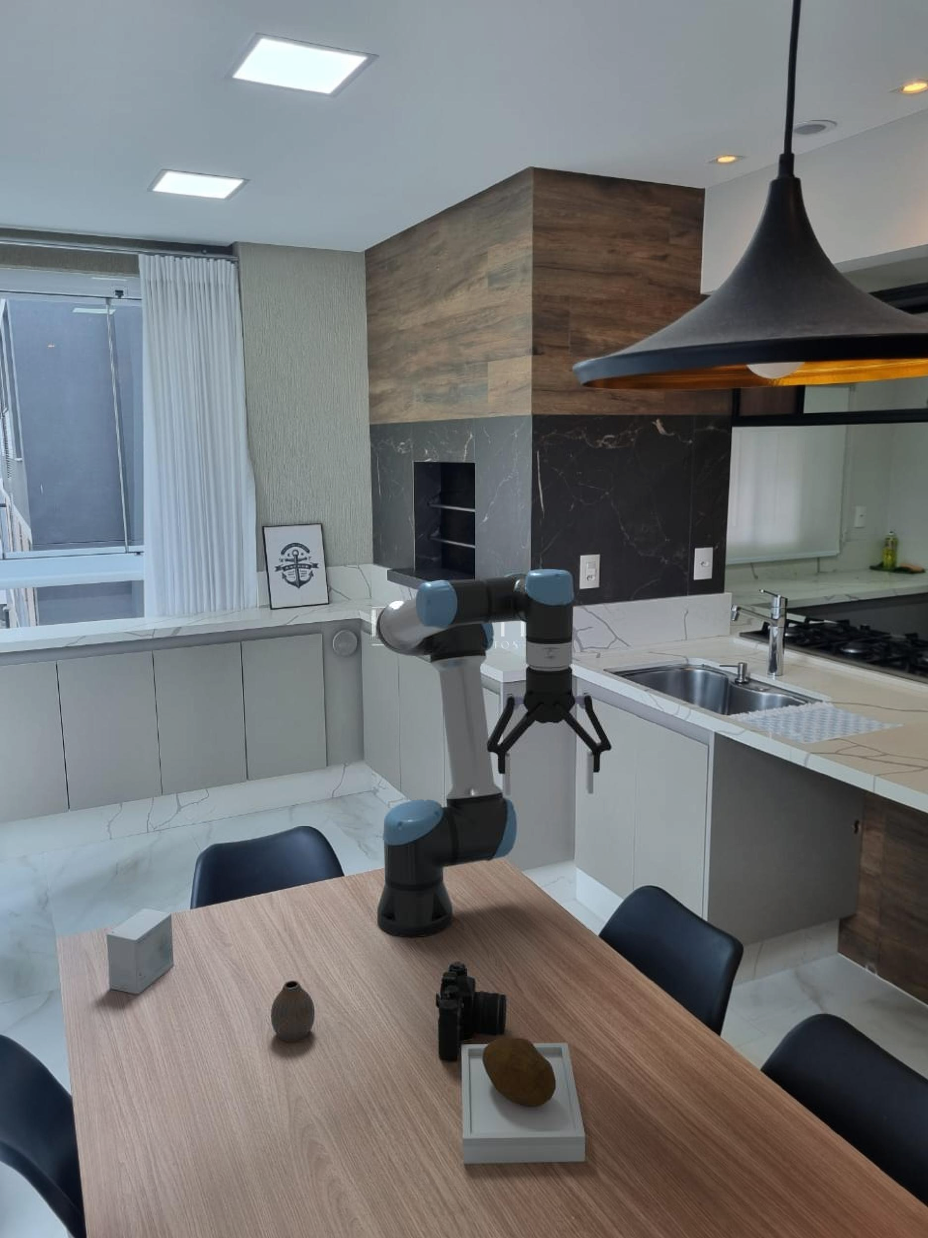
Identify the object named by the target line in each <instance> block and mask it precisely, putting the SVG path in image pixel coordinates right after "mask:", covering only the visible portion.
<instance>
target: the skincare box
mask: <svg viewBox="0 0 928 1238" xmlns="http://www.w3.org/2000/svg"><path fill="white" fill-rule="evenodd" d="M172 923H173V921H172V913H171V912H164V911H159V910H154V909H150V908H142V909H141V910H139V911H138V912H137V913H135V914H134V915H132V916H131V917H129V918H128V919H126V920H125V921H123V922H122V923H121V924H119V925H118V926H116V927H115V928H113V929H112V930H111V931H109V932H108V933H106V943H107V960H108V982H109V983H108V986H109V989H111V990H116V991H120V992H124V993H129V994H134V995H139V994H141V993H142V992H143V991H144V990H145V989H146V988H148V987H150V986H151V984H153V983H154V982H155V981H156V980H158V979H159V978H160V977H161V976H163V975H164V974H165V973H167V972H168V971H169V970H170V969H171V968H172V967H174V966H175V964H174V963H175V962H174V960H175V959H174V945H173V941H174V940H173V925H172Z"/></svg>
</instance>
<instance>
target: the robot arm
mask: <svg viewBox="0 0 928 1238" xmlns="http://www.w3.org/2000/svg"><path fill="white" fill-rule="evenodd" d="M573 581H574V580H573V575H572V574H571V573H570V572H569V571H568V570H565V569H555V568H553V569H552V568H551V569H550V568H545V569H542V568H541V569H533V570H530V571H528V573H527V574H524V573H510V574H506V575H504V576H502V577H484V578H475V579H473V578H472V579H453V580H452V579H451V580H445V579H438V580H433V581H426V582H423V583H421V584H420V585H419V586H418V589H417V591H416V594H415V595H416V596H415V597H413V598H411V599H407V600H398V601H393V602H392V603H390V604H388V605H387V606H385V607H384V608H383V609H382V610H381V612H380V613H379V614H378V617H377V619H376V625H375V628H376V633H377V637H378V639H379V641H380V642H381V643H382V645H384V647H385V648H387V649H388V650H390V651H392V652H394V653H396V654H399V655H404V656H411V657H418V656H421V657H422V656H429V659H430V665H431V666H432V667H433V668H435V670H437V671H438V673H439V683H440V690H441V700H442V708H443V716H444V727H445V734H446V742H447V745H446V746H447V752H448V759H449V760H448V761H449V768H450V778H451V790H450V791H449V793H448V794H447V795H446V796H445V800H446V806H444V807H442V805H441V803H439V802H438V801H437V800H433V799H415V800H410V801H406V802H402V803H400V804H397V805H395V806H394V807H393V808H391V810H389V811H388V812H387V813H386V815H385V816H384V820H383V834H382V840H383V853H384V855H383V856H384V858H383V859H384V886H383V889H382V892H381V896H380V899H379V902H378V906H377V909H376V917H377V924H378V926H379V927H380V928H381V929H382V930H384V931H385V932H387V933H389V934H391V935H395V936H401V937H409V938H411V937H412V938H413V937H425V936H429V935H433V934H437V933H440V932H441V931H443V930H445V929H447V928H448V927H449V926H450V925H451V923H452V922H453V918H454V916H453V914H454V912H453V905H452V904H453V903H452V901H451V898H450V895H449V893H448V889H447V887H446V884H445V882H444V868H447V867H452V866H453V867H454V866H460V865H467V864H471V863H477V862H484V861H486V862H490V861H493V860H494V859H500V858H504V857H506V856H508V855H509V854H510V853H511V852H512V850H513V848H514V845H515V843H516V839H517V831H518V820H517V814H516V813H517V812H516V810H515V806H514V804H513V802H512V801H511V800H510V799H509V798H506V797H504V793H505V796H511V756H510V751H509V750H510V749H511V748H513V747H514V745H515V744H516V742H518V740H519V739H520V738H521V737H522V736H523V734H524V733H525V732H526V731H527V730H528V729H529V728H530V727H531V726H532V725H533V724H534V723H535V722H538V723H539V724H547V723H553V724H560V723H561V722H562V721H564V722H565V723H566V724H567V725H568V726H569V727H570V728H571V729H572V730H573V732H575V733H576V735H577V736H578V737H579V739H580V740H581V741H582V742H583V743H584V744H585V745H586V746H587V747H588V749H589V750H586V781H585V782H586V785H585V787H586V788H585V789H586V791H587V794H588V795H591V794H592V795H593V794H594V773H595V774H596V773H597V774H598V773H600V770H601V755H602V753H604V752H606V751H611V750H612V744H611V742H610V740H609V739H608V736H607V734H606V733H605V731H604V729H603V726H602V724H601V722H600V721H599V719H598V717H597V715H596V713H595V711H594V707H593V699H592V696H591V694H590V693H589V692H584V693H583V694H580V695H574V694H573V668H572V667H571V665H572V664H573V632H574V631H573V629H574V627H573V626H574V598H575V592H574V586H573V585H574V584H573V583H574V582H573ZM506 622H523V623H525V663H526V664H527V665H528V666H527V667H526V668H525V694H524V695H523V696H517V695H514V694H513V693H508V694H507V695H506V698H505V699H506V700H505V707H504V709H503V711H502V713H501V715H500V716H499V718H498V720H497V722H496V725H495V727H494V728H493V731H492V732H491V734H490V737H489V729H488V722H487V714H486V713H487V711H486V705H485V698H484V688H483V680H482V672H481V666H482V664H483V663H484V662H485V660H486V659H487V653H486V652H487V651H488V650H490V649H492V647H493V645H494V635H495V632H494V631H495V630H494V623H506ZM575 704H577V705H579V707H580V708H581V709H582V710H584V711H585V713H586V715H587V717H588V719H589V721H590V723H591V725H592V726H593V729H594V731H595V733H596V734H597V736H598V739H599V741H600V742H597V741H595V740H594V738H593V737H592V736H591V735H590V734H589V733H588V732H587V731H586V729H585V728H584V727H583V726H582V725H581V724H580V723H579V722H578V720H577V719H576V718H575V717H574V716H573V714H572V713H571V710H572V709H573V708H574V706H575ZM521 705H523V706H524V707H525V710H527V711H526V712H525V713H524V715H523V716H522V718H521V719H520V720H519V722H518V723H516V725H515V726H514V728H512V730H511V731H509V732H508V734H507V735H506V736H505V738H504V739H503V740H502V741H501V742H500V740H501V738H502V736H503V734H504V732H505V730H506V728H507V726H508V724H509V723H510V720H511V718H512V716H513V714H514V711H515V710H518V709H519V708H520V706H521ZM499 742H500V743H499ZM491 753H493V754H496V755H497V772H498V773H499V775H504V793H503V789H501V788H500V787H499V786H498V785H497V784H496V783H495V781H494V772H493V763H492V756H491V755H492V754H491Z"/></svg>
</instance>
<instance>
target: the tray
mask: <svg viewBox="0 0 928 1238" xmlns="http://www.w3.org/2000/svg"><path fill="white" fill-rule="evenodd" d="M531 1043H532V1042H531ZM488 1044H489V1043H483V1044H481V1043H480V1044H478V1043H477V1044H476V1043H475V1044H473V1043H472V1044H461V1101H462V1102H461V1106H462V1107H461V1108H462V1109H461V1110H462V1113H461V1115H462V1116H461V1117H462V1120H461V1121H462V1123H461V1124H462V1164H469V1165H470V1164H513V1163H515V1164H519V1163H520V1164H522V1163H523V1164H524V1163H563V1162H564V1163H573V1162H574V1163H575V1162H576V1163H579V1162H583V1163H585V1161H586V1135H585V1129H584V1123H583V1118H582V1114H581V1113H582V1111H581V1108H580V1107H581V1106H580V1103H579V1102H580V1101H579V1097H578V1092H577V1086H576V1082H575V1076H574V1072H573V1067H572V1061H571V1055H570V1050H569V1045H568V1043H567V1042H544V1043H543V1042H542V1043H541V1042H540V1043H537V1042H536V1043H532V1044H533V1045H534V1047H535V1048H536V1049H537V1051H538V1052H539V1053H540V1054H541V1055H542V1056H543V1057H544V1058H545V1059H546V1060H547V1061H549V1063H550V1064H551V1065H552V1068H553V1072H554V1075H555V1080H556V1089H555V1091H554V1094H553V1096H552V1098H551V1099H550V1100H549V1101H547V1102H546V1103H544V1104H543V1105H540V1106H534V1107H528V1106H522V1105H519V1104H517V1103H514V1102H512V1101H511V1100H509V1099H507V1098H506V1097H505V1096H503V1095H502V1094H501V1093H499V1092H498V1091H497V1090H496V1088H495V1087H494V1085H493V1084H492V1082H491V1080H490V1078H489V1076H488V1074H487V1073H486V1070H485V1067H484V1065H483V1061H482V1057H483V1051H484V1048H485V1047H486V1046H487V1045H488Z"/></svg>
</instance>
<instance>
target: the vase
mask: <svg viewBox="0 0 928 1238" xmlns="http://www.w3.org/2000/svg"><path fill="white" fill-rule="evenodd" d="M315 1011H316V1010H315V1006H314V1001H313V1000H312V997H311V995H310V994H309V992H307V991H306V990H305V989H304V988H303V987H302V986H301V984H300V982H299V981H297V980H288V981H286V982H285V983H284V984H283V987H282V988H281V990H280V991H279V993H278V994H277V995H276V997H275V998H274V1001H273V1002H272V1005H271V1010H270V1021H271V1026H272V1029H273V1031H274V1033H275V1034H276V1035H277V1036H278V1037H279V1039H281V1040H283V1041H286V1042H291V1043H292V1042H298V1041H300V1040H303V1038H305V1037H306V1036H307V1035H308V1034H309V1033H310V1032H311V1030H312V1028H313V1026H314V1023H315V1015H316V1014H315Z"/></svg>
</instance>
